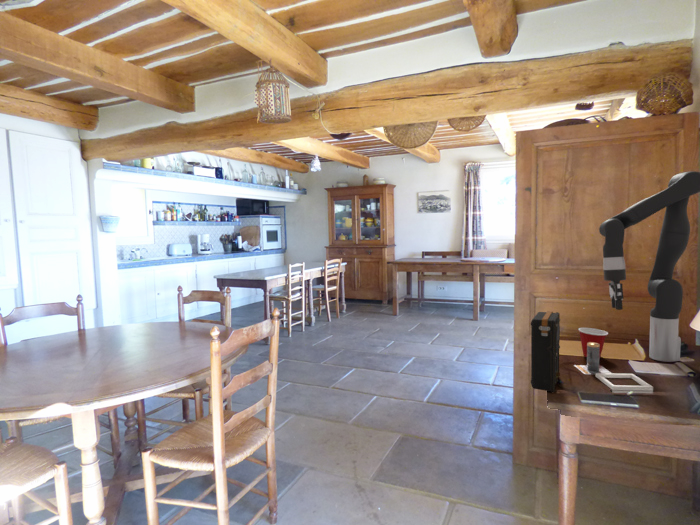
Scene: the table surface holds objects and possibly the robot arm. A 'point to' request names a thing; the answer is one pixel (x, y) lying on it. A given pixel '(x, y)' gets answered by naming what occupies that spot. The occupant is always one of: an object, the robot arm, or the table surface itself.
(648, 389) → the white square tray
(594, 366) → the battery cell
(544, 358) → the black carrying case
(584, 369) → the plate
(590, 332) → the plastic cup
